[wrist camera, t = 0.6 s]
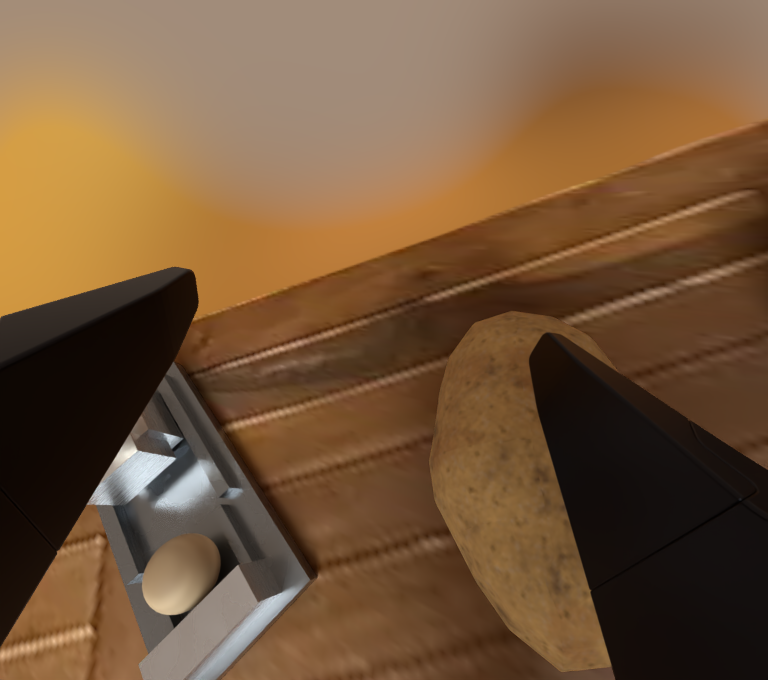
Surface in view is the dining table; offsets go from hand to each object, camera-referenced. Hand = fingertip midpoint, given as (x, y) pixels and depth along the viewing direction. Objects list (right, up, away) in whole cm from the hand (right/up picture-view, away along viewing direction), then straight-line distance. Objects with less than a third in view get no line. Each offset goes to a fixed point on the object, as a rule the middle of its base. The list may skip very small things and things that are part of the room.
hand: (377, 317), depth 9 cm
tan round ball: (-10, -14, +11) cm, 20 cm away
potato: (+8, -8, +11) cm, 16 cm away
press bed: (-13, -11, +14) cm, 22 cm away
